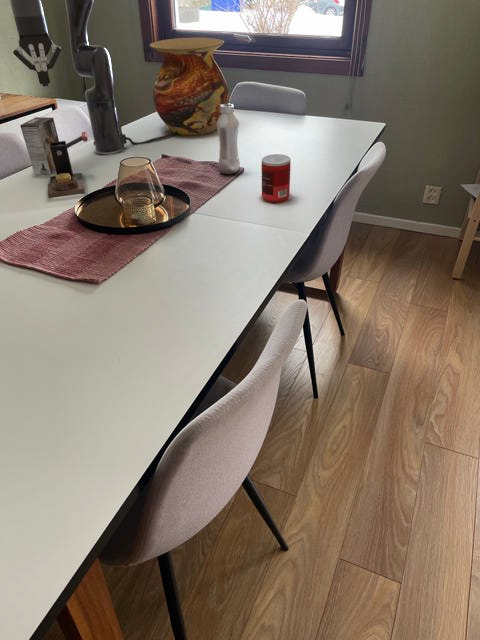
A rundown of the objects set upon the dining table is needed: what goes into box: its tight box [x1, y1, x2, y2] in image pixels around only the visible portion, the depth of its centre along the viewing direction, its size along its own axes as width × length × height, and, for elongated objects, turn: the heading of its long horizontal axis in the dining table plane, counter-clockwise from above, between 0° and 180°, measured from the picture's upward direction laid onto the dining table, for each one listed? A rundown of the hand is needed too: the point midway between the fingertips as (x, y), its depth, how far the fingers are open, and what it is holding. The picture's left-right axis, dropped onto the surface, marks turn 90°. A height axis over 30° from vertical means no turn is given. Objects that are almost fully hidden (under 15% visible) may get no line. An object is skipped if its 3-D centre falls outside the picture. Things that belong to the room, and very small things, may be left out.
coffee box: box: [20, 116, 60, 176], centre depth 157 cm, size 9×6×16 cm
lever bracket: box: [49, 140, 84, 184], centre depth 150 cm, size 10×8×12 cm
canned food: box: [261, 153, 292, 204], centre depth 136 cm, size 8×8×11 cm
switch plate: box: [47, 176, 86, 199], centre depth 145 cm, size 10×8×4 cm
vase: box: [149, 37, 230, 136], centre depth 188 cm, size 29×29×30 cm
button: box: [55, 173, 71, 183], centre depth 144 cm, size 4×4×2 cm
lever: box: [57, 131, 89, 150], centre depth 148 cm, size 11×5×2 cm, turn 106°
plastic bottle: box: [216, 103, 241, 175], centre depth 150 cm, size 6×7×20 cm
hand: (45, 85), depth 140 cm, fingers closed
